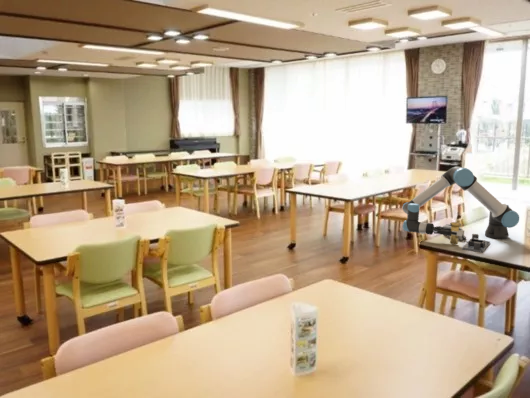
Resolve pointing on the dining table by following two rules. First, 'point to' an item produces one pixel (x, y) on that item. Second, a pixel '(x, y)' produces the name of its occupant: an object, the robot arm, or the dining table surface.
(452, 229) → the coupler
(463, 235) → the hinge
